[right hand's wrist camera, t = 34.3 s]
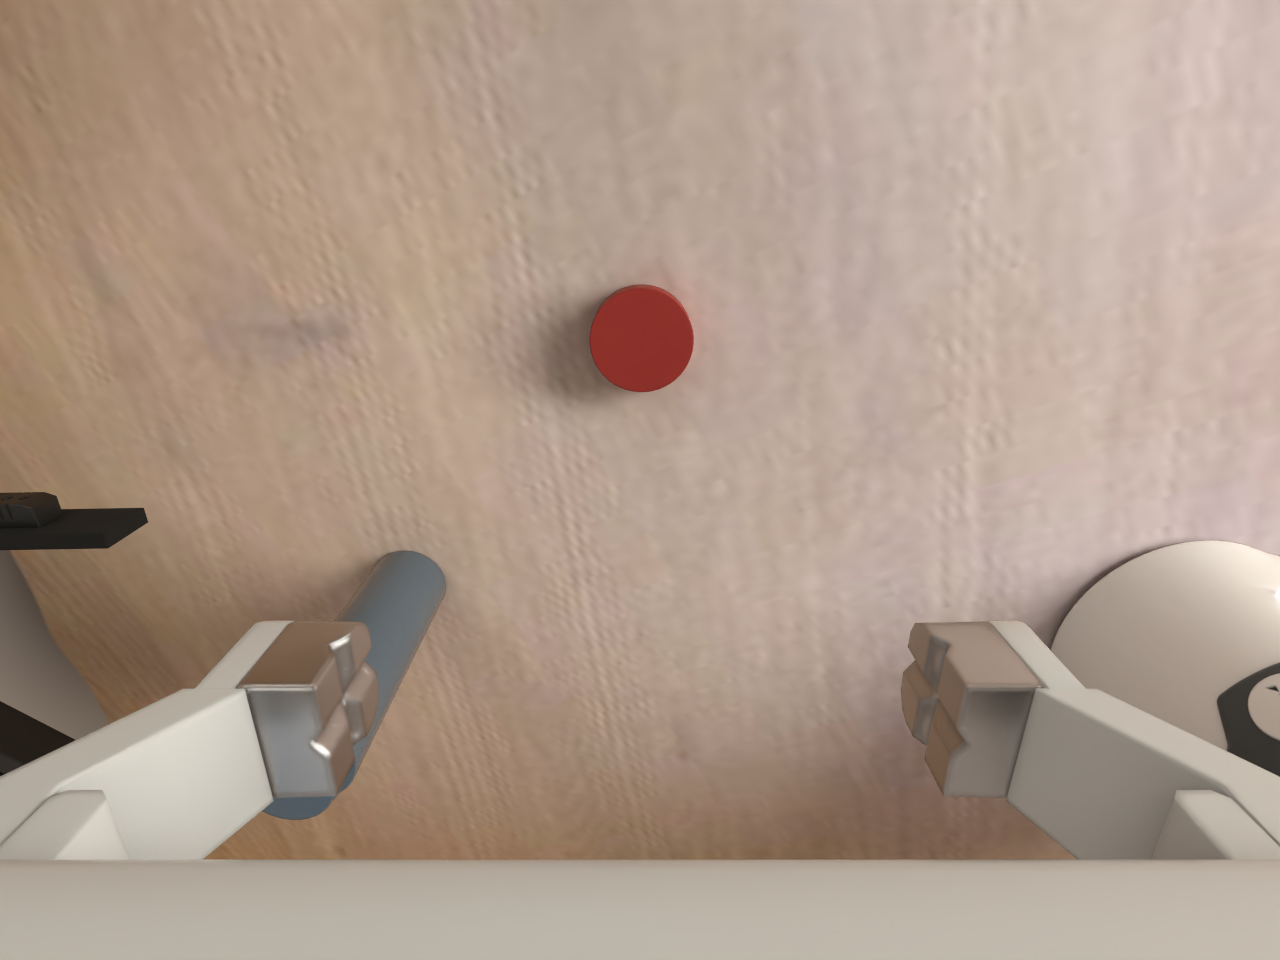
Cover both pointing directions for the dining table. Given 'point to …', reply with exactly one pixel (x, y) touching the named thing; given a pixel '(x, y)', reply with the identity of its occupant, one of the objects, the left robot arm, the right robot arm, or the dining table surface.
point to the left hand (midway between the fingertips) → (167, 650)
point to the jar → (382, 646)
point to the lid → (641, 338)
